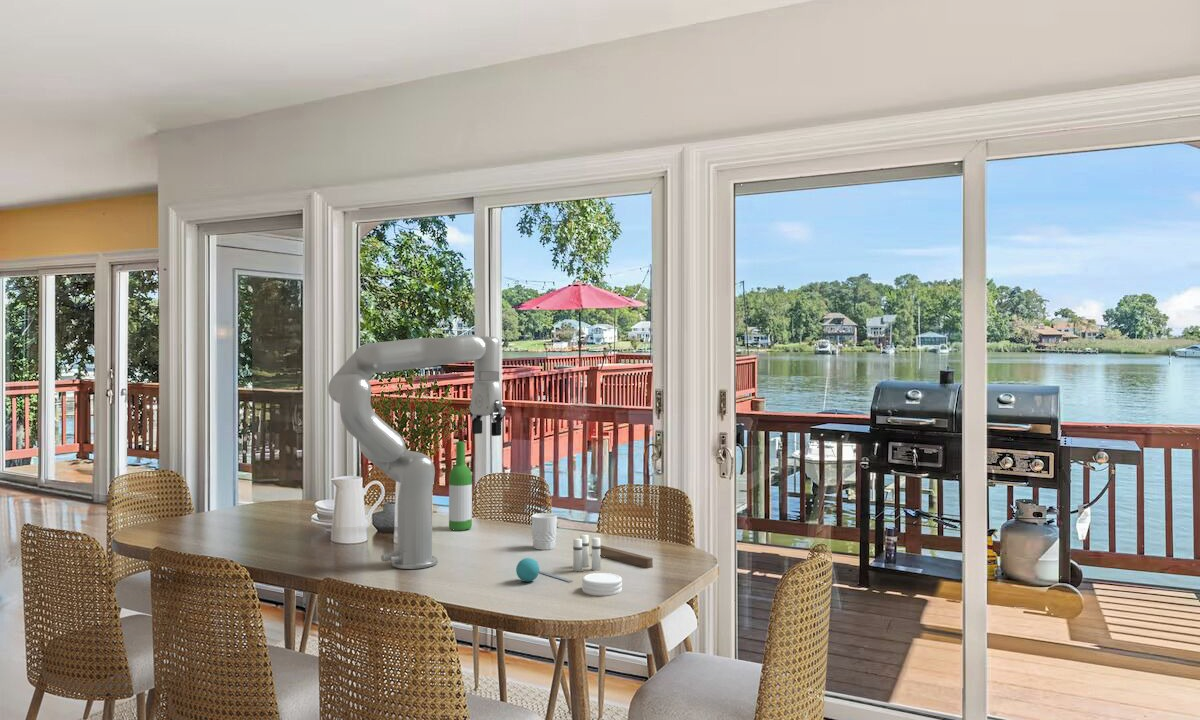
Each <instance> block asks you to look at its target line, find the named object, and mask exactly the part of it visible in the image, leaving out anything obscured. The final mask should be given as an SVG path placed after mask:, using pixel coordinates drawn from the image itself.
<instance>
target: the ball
mask: <svg viewBox="0 0 1200 720" xmlns="http://www.w3.org/2000/svg"><path fill="white" fill-rule="evenodd" d="M539 570H540V565H539V563H538V562H537V561H536V560H535V559H533V558H532V557H526V558H525V557H524V558H522V559H521V560H520V561H519V562H518V563H517V565H516V569H515V572H516V575H517V577H518V578H519V580H521V581H523V582H525V583H528V582H529V583H530V582H532V581H534V580H535V579H537V578H538V576H539V574H540V573H539Z"/></svg>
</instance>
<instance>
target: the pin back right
mask: <svg viewBox="0 0 1200 720" xmlns="http://www.w3.org/2000/svg"><path fill="white" fill-rule="evenodd" d="M600 549H601V538H600V537H591V570H592V571H600V570H601V556H600Z"/></svg>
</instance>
